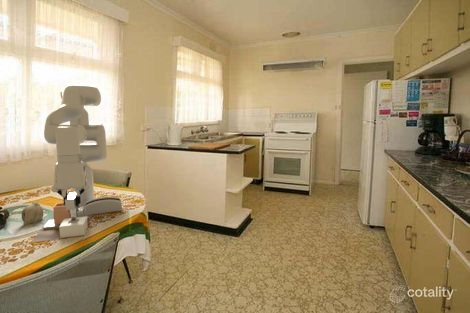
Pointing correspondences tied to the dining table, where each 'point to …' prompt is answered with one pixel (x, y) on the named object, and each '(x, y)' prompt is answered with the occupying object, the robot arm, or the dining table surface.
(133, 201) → the dining table surface
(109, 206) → the grey arched block
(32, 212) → the grey rounded lump
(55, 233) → the grey flat plate
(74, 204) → the steel key
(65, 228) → the white holed block
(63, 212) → the block
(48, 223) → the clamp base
